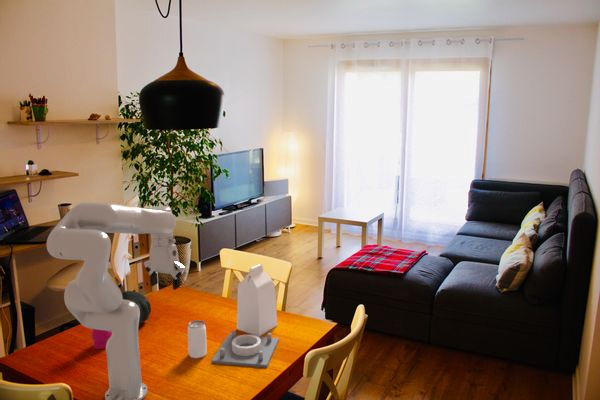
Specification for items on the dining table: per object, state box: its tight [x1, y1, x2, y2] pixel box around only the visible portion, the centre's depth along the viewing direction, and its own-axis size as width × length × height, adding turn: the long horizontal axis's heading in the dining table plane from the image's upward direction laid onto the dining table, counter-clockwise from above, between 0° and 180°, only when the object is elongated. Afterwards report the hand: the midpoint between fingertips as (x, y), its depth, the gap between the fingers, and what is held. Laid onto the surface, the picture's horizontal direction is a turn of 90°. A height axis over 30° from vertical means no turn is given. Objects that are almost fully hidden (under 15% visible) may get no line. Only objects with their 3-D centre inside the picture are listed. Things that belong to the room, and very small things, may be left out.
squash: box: [121, 290, 152, 326], centre depth 208 cm, size 14×15×15 cm
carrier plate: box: [211, 329, 280, 368], centre depth 185 cm, size 20×20×4 cm
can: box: [187, 319, 208, 359], centre depth 182 cm, size 6×6×12 cm
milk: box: [236, 263, 278, 337], centre depth 202 cm, size 12×12×26 cm
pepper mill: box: [91, 329, 112, 350], centre depth 188 cm, size 7×7×20 cm
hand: (165, 286), depth 182 cm, fingers open, 9 cm apart
